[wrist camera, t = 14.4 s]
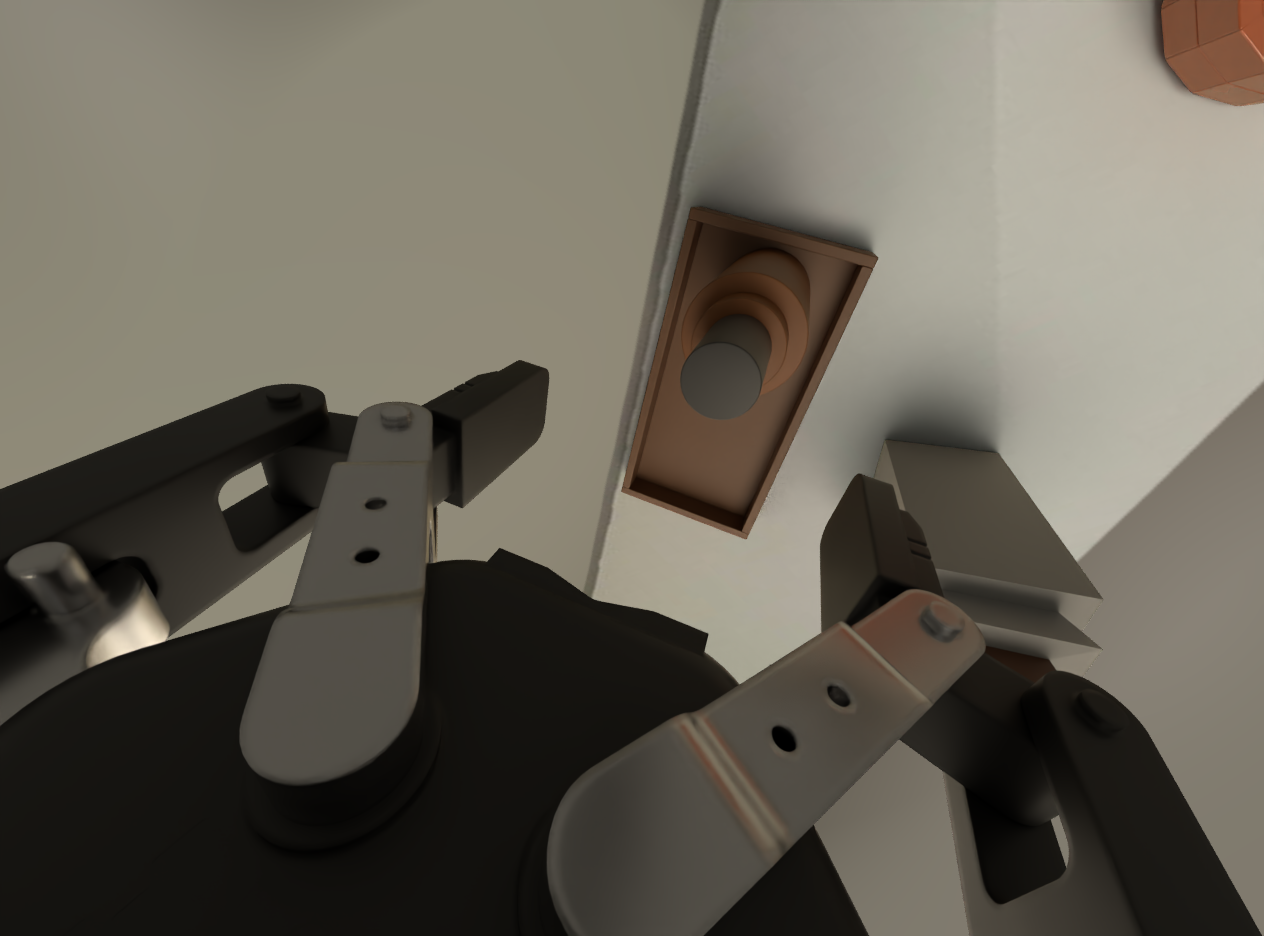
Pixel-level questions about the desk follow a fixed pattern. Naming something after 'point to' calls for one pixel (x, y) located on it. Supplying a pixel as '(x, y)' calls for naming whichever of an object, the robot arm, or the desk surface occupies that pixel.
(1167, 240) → the desk surface
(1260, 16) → the bowl
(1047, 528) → the perfume bottle
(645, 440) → the tray
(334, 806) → the robot arm
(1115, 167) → the desk surface
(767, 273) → the bottle
